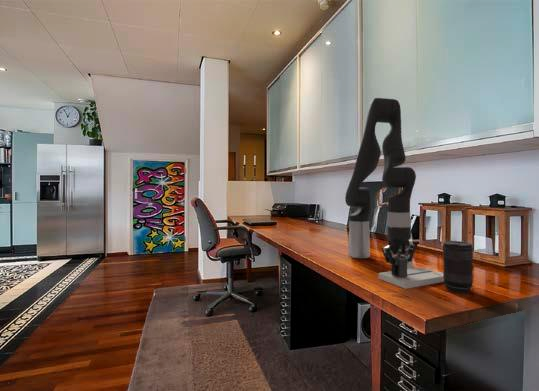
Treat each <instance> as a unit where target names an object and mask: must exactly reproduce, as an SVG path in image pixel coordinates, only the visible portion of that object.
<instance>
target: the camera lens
mask: <svg viewBox="0 0 539 391" xmlns="http://www.w3.org/2000/svg"><path fill="white" fill-rule="evenodd" d="M472 244H473V243H471V242H466V241H457V240H455V241H454V240H447V241H443V242H442V259H443V260H442V262H443V269H442V270H443V271H442V273H443V277H444V282H443V283H444V286H445V289H446V290H448V291H450V292H453V293H458V294H469V293H471V288H472V287H473V282H474V274H473V270H474V265H473V259H474V250H473V249H474V248H473V245H472Z"/></svg>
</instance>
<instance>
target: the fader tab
mask: <svg viewBox="0 0 539 391" xmlns="http://www.w3.org/2000/svg"><path fill="white" fill-rule="evenodd" d="M394 261H395V258H394ZM397 277H399V278H403V277H407V259H404V258H400V259H399V261H398V276H397Z"/></svg>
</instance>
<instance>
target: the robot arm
mask: <svg viewBox="0 0 539 391" xmlns="http://www.w3.org/2000/svg"><path fill="white" fill-rule="evenodd" d="M377 123H381V124H382V123H383V124H389V125H390V128H389V131H388V132H387V133H386V136H385V137H384V138H383V141H382V148H381V146H380V144H379V141H378V139H377V136H376V135H377V134H376V125H377ZM402 138H403V137H402V110H401V105H400V102H399V100H398V99H394V98H386V97H385V98H384V97H375V98H372V100H371V101H370V104H369V106H368V111H367V114H366V120H365V126H364V131H363V136H362V139H361V143H360V147H359V149H358V153H357V156H356V159H355V165H354V168H353V172H352V176H351V178H350V181H349V184H348V186H347V189H346V192H345V198H344V200H345V203H346V205H347V206H348V207H350V208H351V207H353V208H355V207H359V208H358V210H356V211H355V212H353V213H351V214H349V216H348V217H349V219H348V221H349V222H348V224H349V225H348V226H349V228H348V229H349V231H348V232H349V235H348V240H347V242H348V252H347V253H348V256H349V257H350V258H353V259H354V258H356V259H368V258H370V257H371V256H370V248H371V247H370V216H371V206H372V205H371V203H372V195H371V194H372V193H371V190H370V189H369V188H368V187H361V185H362V184H363V182H364V181H365V180H366V179H368V178H369V176H370V175H371V174H373V172H374V171H375V170H376V169H377V167H378V165H379V161H380V158H381V154H383V161H384V162H383V163H384V165H383V172H382V176H381V180H382V184H383V185H384V186H385V187H387V189H388V188H389V189H397V188H399V189H401V191H400V192H399V193H395V194H391V195H389V196H388V198H387V217H386V219H387V220H386V221H387V222H386V225H387V226H386V227H387V228H386V234H387V235H386V236H387V237H386V238H387V239H388V243H387V245H386V246H382V247H381V250H382V253H383V257H384V260H385V262H386V263H387V264H390V266H391V267H390V268H391V270H390V271H391V272H392V275H394V276H398V261H399V259H400V258H404V259H407V264H408V262H409V261H410V262H411V261H412V259H413V258H414V255H415V253H416V249H417V245H415V244H413V245H412V244H410V242H409V240H410V239H411V233H412V218H411V198H412V193H413V189H414V186H415V184H416V180H417V174H416V171H415V170H414V168H412V167H410V166H409V167H408V166H406V167H405V166H404V167H402V165H403V164H405V162H406V153H405V149H404V145H403V144H404V143H403V139H402ZM381 149H382V150H381ZM381 152H382V153H381ZM400 166H401V167H400ZM409 254H410V256H409ZM408 256H409V258H408ZM394 258H395V261H394Z"/></svg>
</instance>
